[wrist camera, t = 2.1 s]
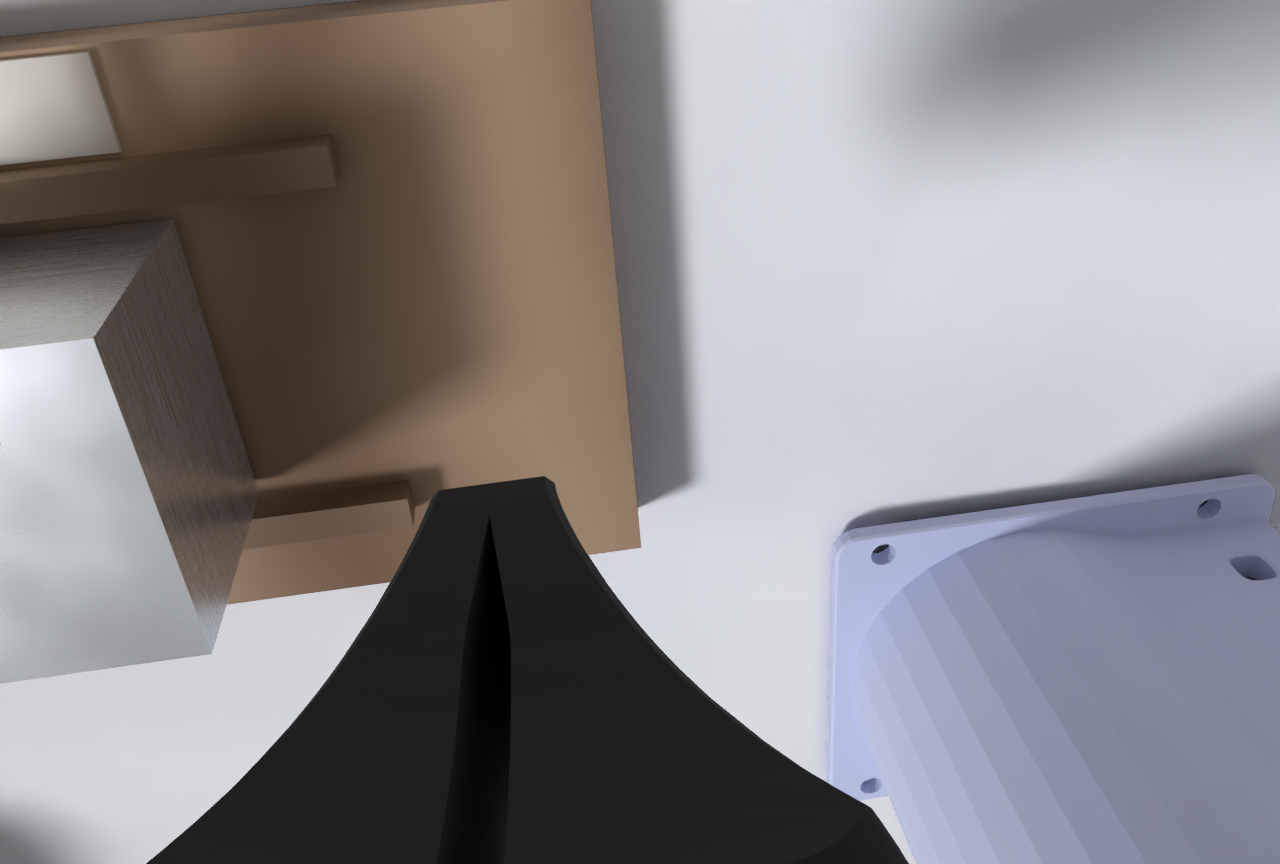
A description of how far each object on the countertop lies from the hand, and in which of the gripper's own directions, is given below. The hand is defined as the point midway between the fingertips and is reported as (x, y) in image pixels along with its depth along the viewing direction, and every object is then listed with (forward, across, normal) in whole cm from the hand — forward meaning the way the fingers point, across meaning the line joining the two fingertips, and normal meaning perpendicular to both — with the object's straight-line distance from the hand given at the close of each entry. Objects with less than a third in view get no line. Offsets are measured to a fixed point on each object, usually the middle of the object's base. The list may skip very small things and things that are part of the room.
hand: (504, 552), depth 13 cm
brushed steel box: (+6, +8, -1) cm, 10 cm away
